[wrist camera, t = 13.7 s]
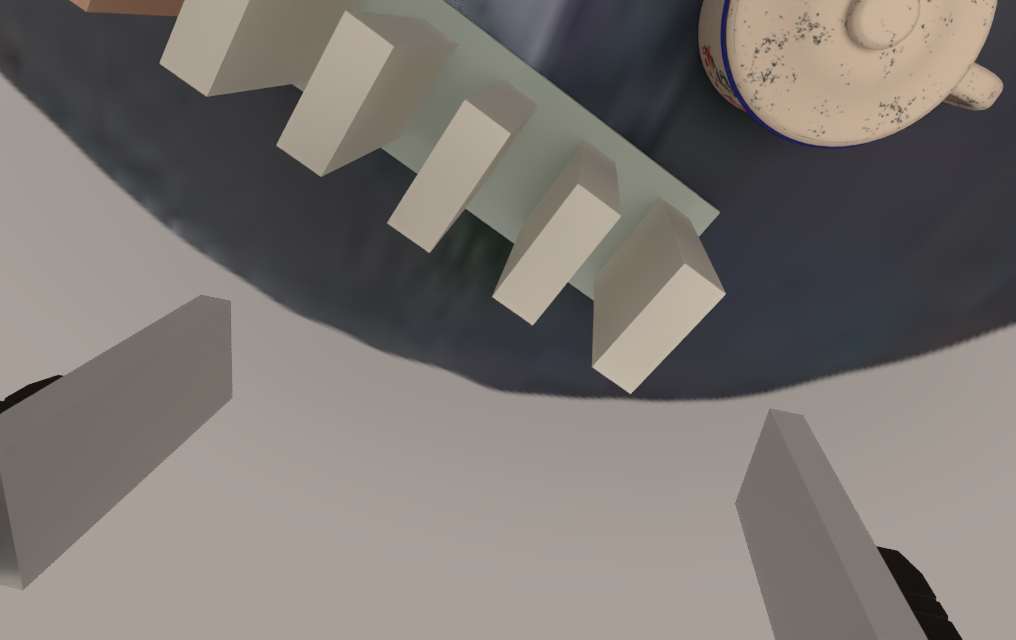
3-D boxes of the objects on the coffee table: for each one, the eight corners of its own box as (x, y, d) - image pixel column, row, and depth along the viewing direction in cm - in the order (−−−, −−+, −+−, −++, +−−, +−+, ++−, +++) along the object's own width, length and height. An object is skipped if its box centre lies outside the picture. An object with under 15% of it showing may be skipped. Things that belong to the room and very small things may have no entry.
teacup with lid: (657, 76, 32) (685, 95, 22) (757, -126, 29) (848, -221, 18) (870, 175, 33) (997, 241, 22) (995, -9, 29) (1219, -36, 19)
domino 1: (290, 55, 34) (159, 63, 24) (340, -46, 32) (218, -85, 22) (323, 79, 34) (206, 96, 24) (374, -20, 32) (270, -46, 22)
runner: (171, -8, 34) (164, -9, 33) (231, -163, 31) (225, -167, 30) (622, 317, 38) (623, 321, 37) (718, 210, 35) (720, 212, 34)
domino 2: (370, 113, 34) (276, 145, 24) (425, 18, 32) (345, 10, 22) (402, 136, 35) (321, 177, 25) (458, 43, 32) (394, 46, 22)
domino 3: (448, 170, 35) (387, 223, 25) (506, 80, 33) (464, 99, 23) (478, 191, 35) (429, 253, 25) (538, 104, 33) (510, 133, 23)
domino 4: (523, 224, 36) (492, 296, 26) (585, 140, 33) (578, 183, 23) (551, 245, 36) (532, 325, 26) (615, 163, 34) (621, 216, 24)
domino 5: (594, 276, 36) (592, 366, 26) (660, 196, 34) (684, 263, 24) (622, 296, 37) (630, 393, 27) (689, 219, 34) (725, 294, 24)
